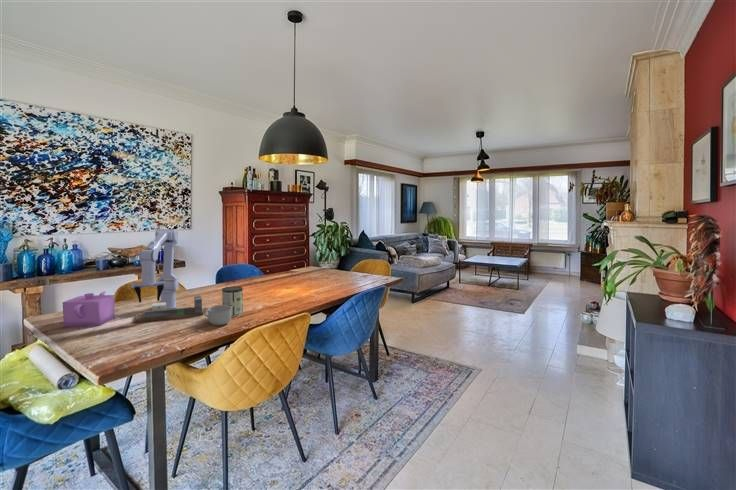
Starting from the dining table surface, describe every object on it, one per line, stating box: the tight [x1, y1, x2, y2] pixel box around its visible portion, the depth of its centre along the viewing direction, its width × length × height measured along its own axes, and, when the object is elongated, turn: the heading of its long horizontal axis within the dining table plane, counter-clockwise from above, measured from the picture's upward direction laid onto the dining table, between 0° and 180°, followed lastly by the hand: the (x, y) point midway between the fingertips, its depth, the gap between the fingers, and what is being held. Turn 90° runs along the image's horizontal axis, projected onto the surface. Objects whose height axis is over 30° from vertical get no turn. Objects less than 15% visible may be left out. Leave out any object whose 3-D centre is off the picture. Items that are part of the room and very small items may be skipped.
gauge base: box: [134, 294, 204, 324], centre depth 185 cm, size 12×30×8 cm, turn 119°
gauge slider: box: [151, 302, 166, 311], centre depth 182 cm, size 9×6×5 cm
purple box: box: [62, 291, 116, 328], centre depth 173 cm, size 15×25×14 cm, turn 10°
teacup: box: [202, 304, 232, 327], centre depth 175 cm, size 14×11×8 cm
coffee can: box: [221, 286, 244, 318], centre depth 190 cm, size 10×10×14 cm
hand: (149, 301), depth 176 cm, fingers open, 7 cm apart
